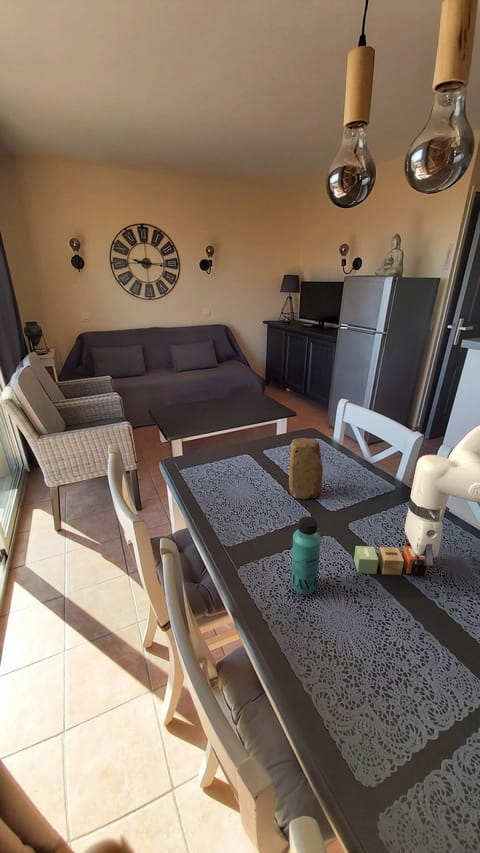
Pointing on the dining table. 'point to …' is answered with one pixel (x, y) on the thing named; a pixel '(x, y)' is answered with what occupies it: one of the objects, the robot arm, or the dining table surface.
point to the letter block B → (366, 559)
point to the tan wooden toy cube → (390, 560)
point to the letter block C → (409, 558)
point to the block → (305, 469)
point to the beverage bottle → (305, 556)
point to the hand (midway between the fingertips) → (413, 565)
